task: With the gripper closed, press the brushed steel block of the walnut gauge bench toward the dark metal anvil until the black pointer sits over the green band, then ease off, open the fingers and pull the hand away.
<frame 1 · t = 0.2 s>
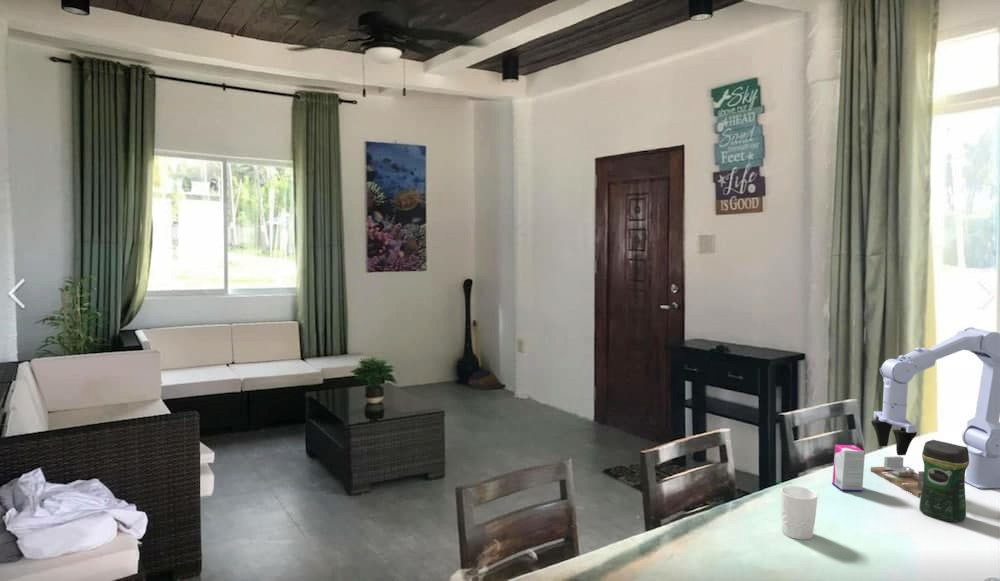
hand: (892, 450, 189), 10 cm above the table, tool pointing down, fingers open, 7 cm apart
white cup: (797, 534, 159), on the table
supplement box: (847, 488, 188), on the table
gauge frame: (909, 483, 191), on the table
brushed steel block: (897, 467, 195), point 3 cm above the table, slide at 0.0 cm
coffee jar: (941, 515, 170), on the table
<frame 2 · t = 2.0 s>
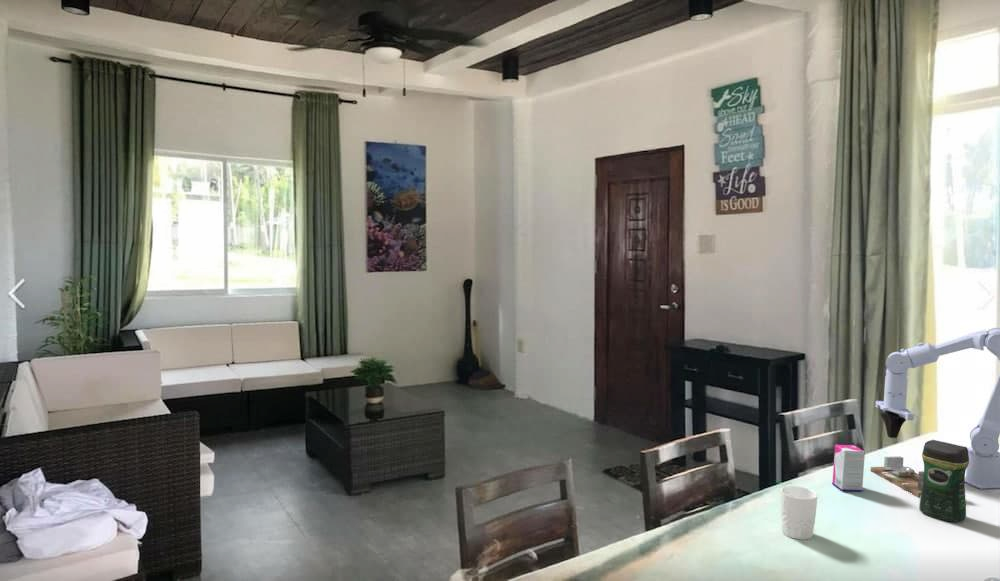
hand: (892, 437, 202), 10 cm above the table, tool pointing down, fingers closed
nothing on the table moved.
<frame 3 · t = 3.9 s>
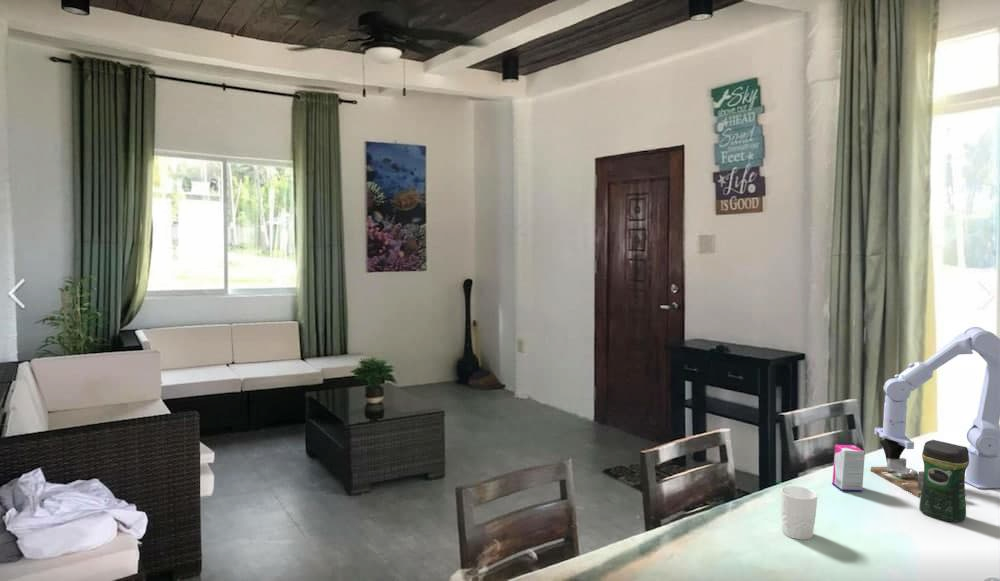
hand: (891, 465, 199), 2 cm above the table, tool pointing down, fingers closed
brushed steel block: (900, 469, 193), point 3 cm above the table, slide at 1.3 cm, touching gripper
everything else where it was.
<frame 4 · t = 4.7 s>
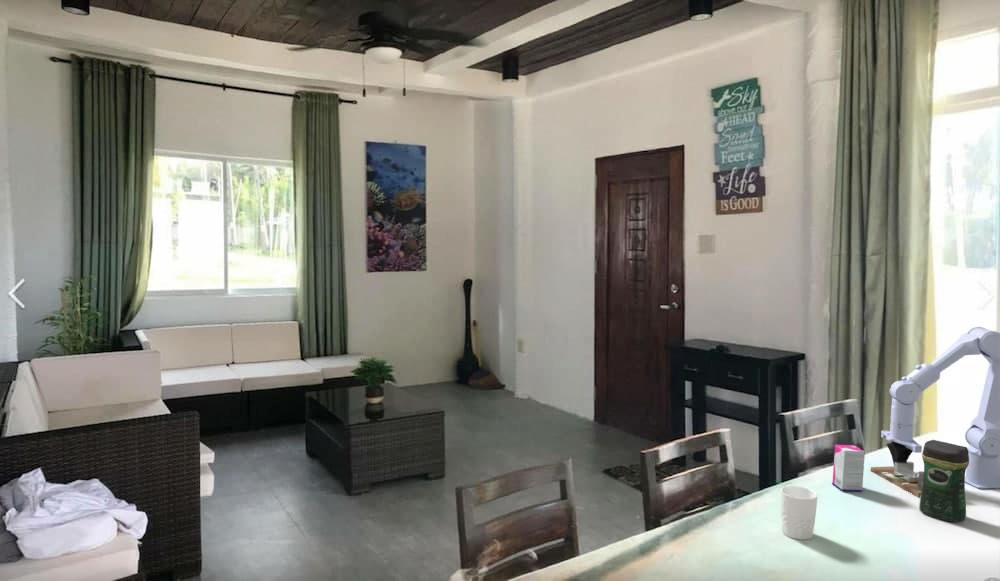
hand: (899, 468, 196), 2 cm above the table, tool pointing down, fingers closed
brushed steel block: (908, 473, 190), point 3 cm above the table, slide at 4.4 cm, touching gripper
everything else where it was.
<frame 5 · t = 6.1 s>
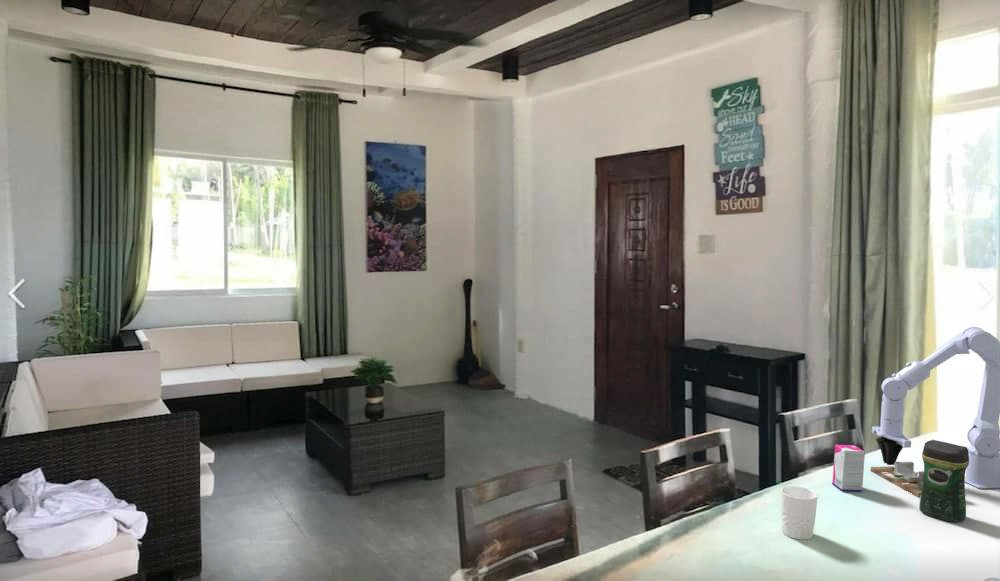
hand: (889, 463, 200), 2 cm above the table, tool pointing down, fingers closed
brushed steel block: (908, 473, 190), point 3 cm above the table, slide at 4.4 cm
everything else where it was.
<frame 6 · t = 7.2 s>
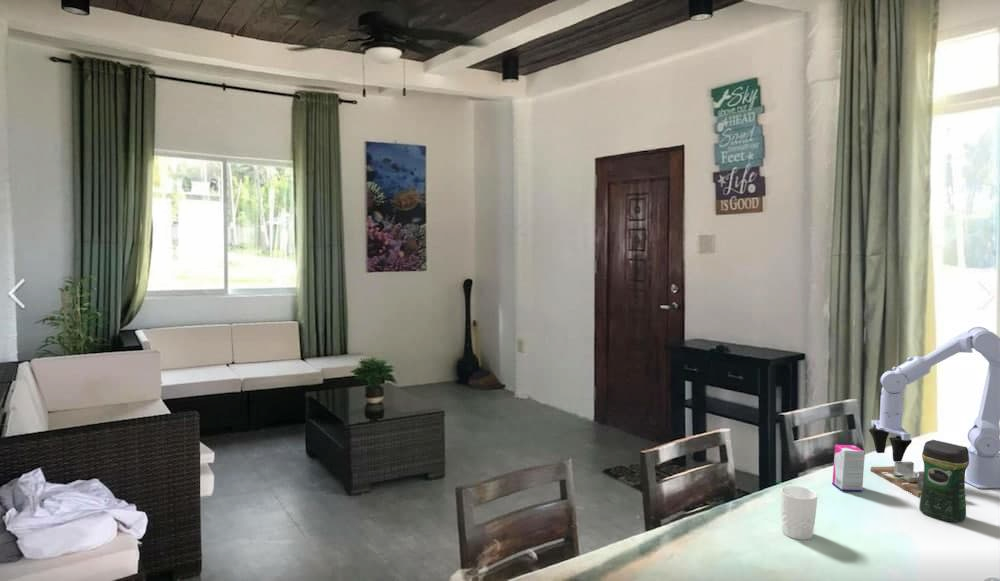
hand: (888, 456, 200), 4 cm above the table, tool pointing down, fingers open, 7 cm apart
nothing on the table moved.
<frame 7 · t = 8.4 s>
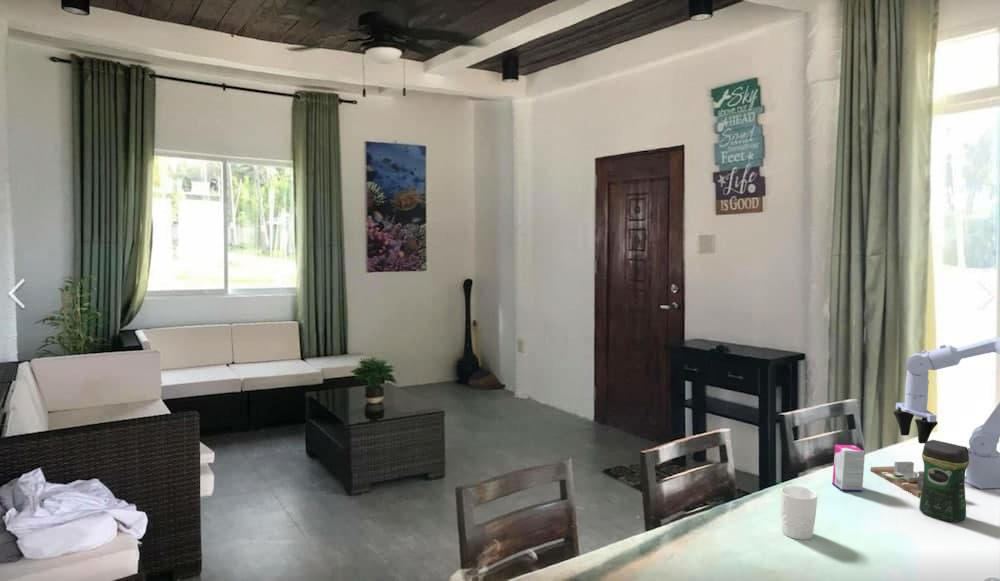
hand: (913, 439, 201), 9 cm above the table, tool pointing down, fingers open, 7 cm apart
nothing on the table moved.
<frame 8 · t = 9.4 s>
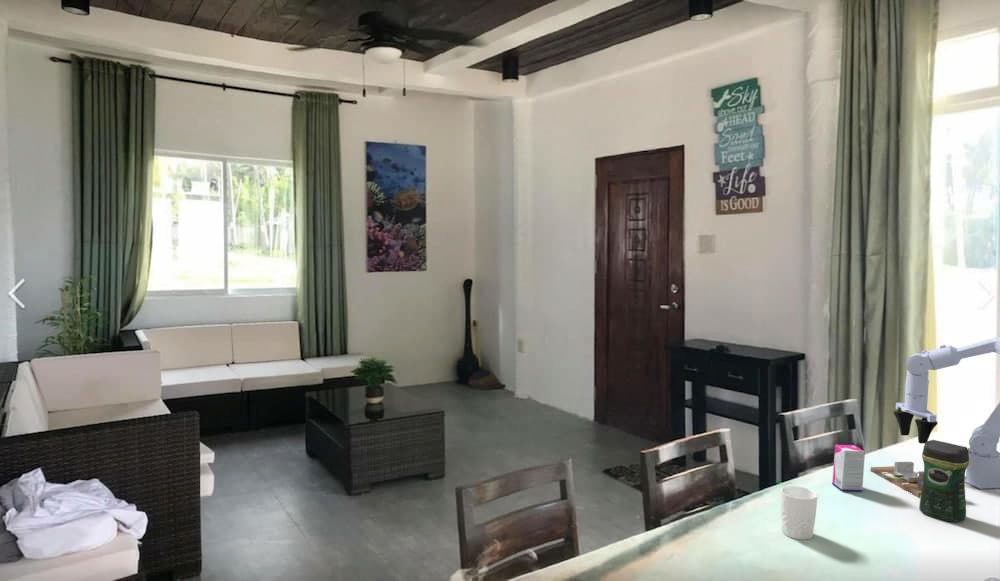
hand: (913, 439, 201), 9 cm above the table, tool pointing down, fingers open, 7 cm apart
nothing on the table moved.
at the end: brushed steel block slide at 4.4 cm; supplement box moved 0.2 cm from its start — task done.
